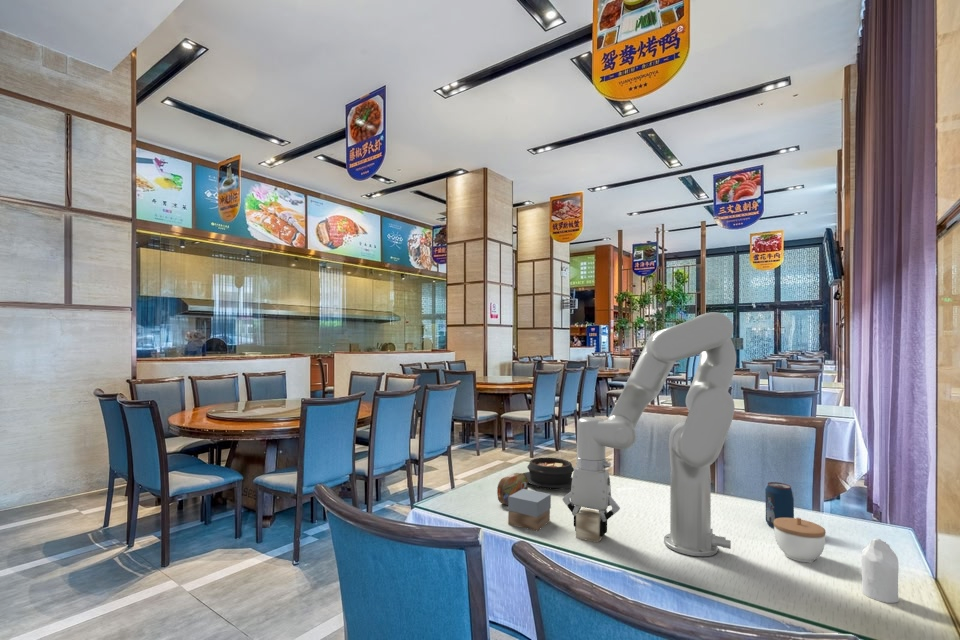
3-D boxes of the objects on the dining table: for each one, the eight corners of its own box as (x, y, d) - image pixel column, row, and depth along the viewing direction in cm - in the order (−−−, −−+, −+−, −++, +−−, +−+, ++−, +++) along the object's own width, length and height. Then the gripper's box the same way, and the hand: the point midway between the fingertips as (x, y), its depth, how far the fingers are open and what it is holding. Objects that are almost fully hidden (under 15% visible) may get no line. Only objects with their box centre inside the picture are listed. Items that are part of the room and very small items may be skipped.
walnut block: (549, 522, 139) (549, 507, 140) (537, 532, 131) (538, 517, 132) (521, 516, 144) (521, 502, 144) (508, 525, 136) (508, 511, 136)
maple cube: (604, 534, 130) (604, 512, 130) (598, 542, 125) (598, 518, 125) (582, 530, 133) (582, 508, 133) (575, 537, 128) (576, 514, 128)
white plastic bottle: (891, 535, 102) (903, 545, 97) (892, 593, 102) (904, 606, 96) (856, 530, 104) (867, 540, 99) (857, 587, 104) (868, 600, 98)
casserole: (507, 485, 174) (508, 461, 175) (530, 474, 190) (531, 452, 190) (573, 498, 161) (573, 472, 161) (592, 485, 177) (592, 462, 177)
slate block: (550, 508, 139) (550, 494, 139) (537, 517, 132) (537, 502, 132) (522, 502, 144) (523, 488, 144) (508, 510, 136) (508, 496, 137)
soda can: (796, 527, 138) (795, 485, 139) (791, 533, 133) (790, 490, 134) (768, 521, 143) (768, 480, 144) (763, 527, 138) (762, 484, 139)
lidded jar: (764, 547, 124) (764, 510, 125) (807, 548, 124) (806, 511, 124) (790, 566, 113) (789, 525, 114) (836, 567, 113) (836, 527, 114)
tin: (503, 508, 149) (503, 480, 150) (495, 506, 151) (495, 478, 152) (528, 496, 161) (529, 471, 162) (520, 494, 163) (521, 469, 164)
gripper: (626, 465, 129) (626, 534, 128) (564, 457, 137) (563, 521, 136) (620, 471, 122) (619, 544, 121) (555, 462, 131) (554, 530, 130)
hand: (590, 531), depth 129 cm, fingers closed on maple cube, 6 cm apart
